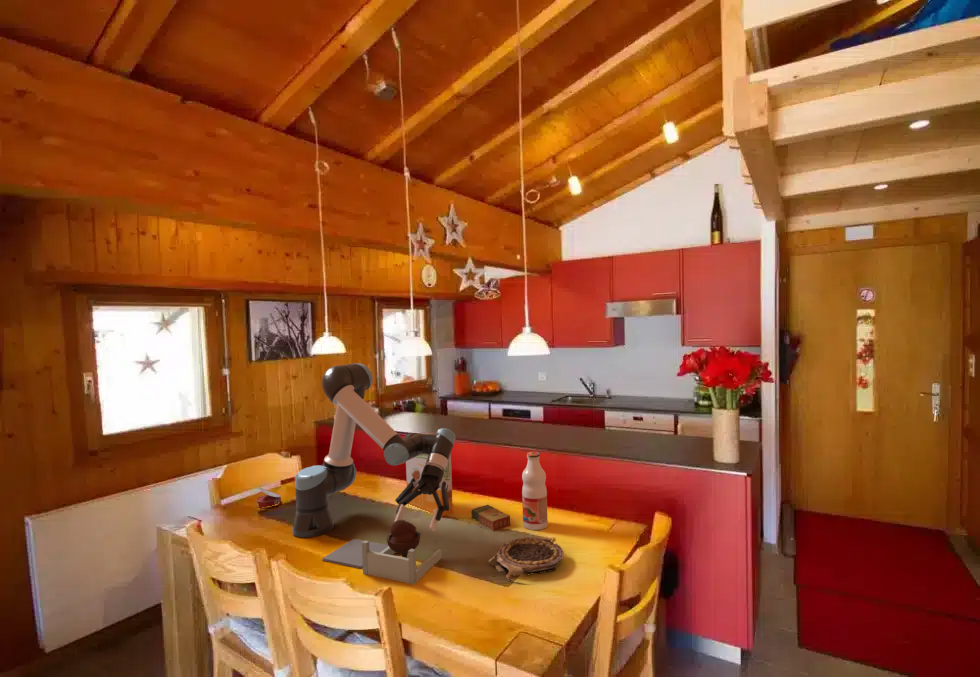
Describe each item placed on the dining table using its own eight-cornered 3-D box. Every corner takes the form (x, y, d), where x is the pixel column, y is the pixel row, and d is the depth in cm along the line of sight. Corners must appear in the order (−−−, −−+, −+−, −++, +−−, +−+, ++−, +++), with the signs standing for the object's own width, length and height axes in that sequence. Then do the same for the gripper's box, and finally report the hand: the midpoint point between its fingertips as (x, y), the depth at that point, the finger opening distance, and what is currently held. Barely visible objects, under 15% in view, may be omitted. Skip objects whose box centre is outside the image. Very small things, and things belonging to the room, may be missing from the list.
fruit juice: (550, 529, 184) (548, 455, 183) (526, 532, 183) (524, 457, 182) (543, 519, 193) (541, 449, 193) (520, 522, 192) (518, 451, 191)
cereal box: (452, 512, 204) (450, 441, 203) (441, 517, 199) (438, 444, 198) (418, 500, 219) (416, 434, 218) (407, 504, 215) (405, 436, 214)
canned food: (264, 512, 224) (267, 489, 229) (284, 510, 223) (287, 487, 227) (248, 508, 214) (252, 485, 219) (269, 506, 213) (273, 483, 217)
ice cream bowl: (415, 574, 153) (413, 527, 153) (382, 572, 156) (380, 525, 155) (426, 558, 164) (425, 514, 163) (395, 556, 166) (393, 512, 166)
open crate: (363, 573, 155) (361, 542, 155) (394, 550, 171) (393, 521, 171) (413, 584, 147) (412, 551, 147) (442, 558, 163) (441, 529, 163)
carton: (493, 532, 184) (492, 520, 184) (470, 518, 198) (470, 508, 198) (511, 526, 189) (510, 515, 189) (488, 513, 202) (487, 503, 202)
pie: (515, 538, 178) (514, 525, 178) (587, 555, 164) (587, 541, 164) (473, 573, 154) (472, 557, 154) (553, 596, 140) (552, 579, 140)
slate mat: (322, 560, 165) (322, 558, 165) (353, 541, 179) (353, 538, 179) (361, 568, 158) (361, 566, 158) (390, 547, 173) (390, 545, 173)
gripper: (469, 477, 174) (451, 536, 160) (409, 471, 184) (387, 526, 170) (462, 466, 169) (442, 526, 155) (400, 461, 179) (377, 517, 165)
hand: (413, 527), depth 163 cm, fingers open, 13 cm apart
